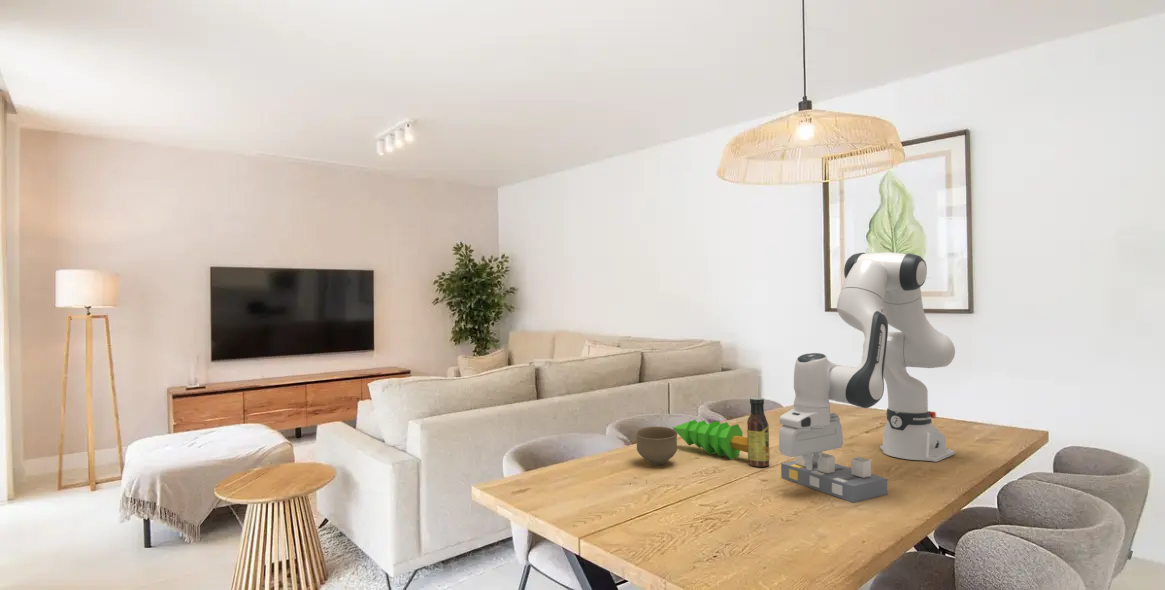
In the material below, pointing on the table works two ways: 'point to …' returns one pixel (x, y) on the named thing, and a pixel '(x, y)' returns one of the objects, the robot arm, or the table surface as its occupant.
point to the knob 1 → (801, 460)
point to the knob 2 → (827, 463)
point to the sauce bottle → (758, 435)
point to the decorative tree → (714, 437)
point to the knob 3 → (861, 467)
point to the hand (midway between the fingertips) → (812, 469)
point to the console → (836, 482)
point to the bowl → (656, 444)
